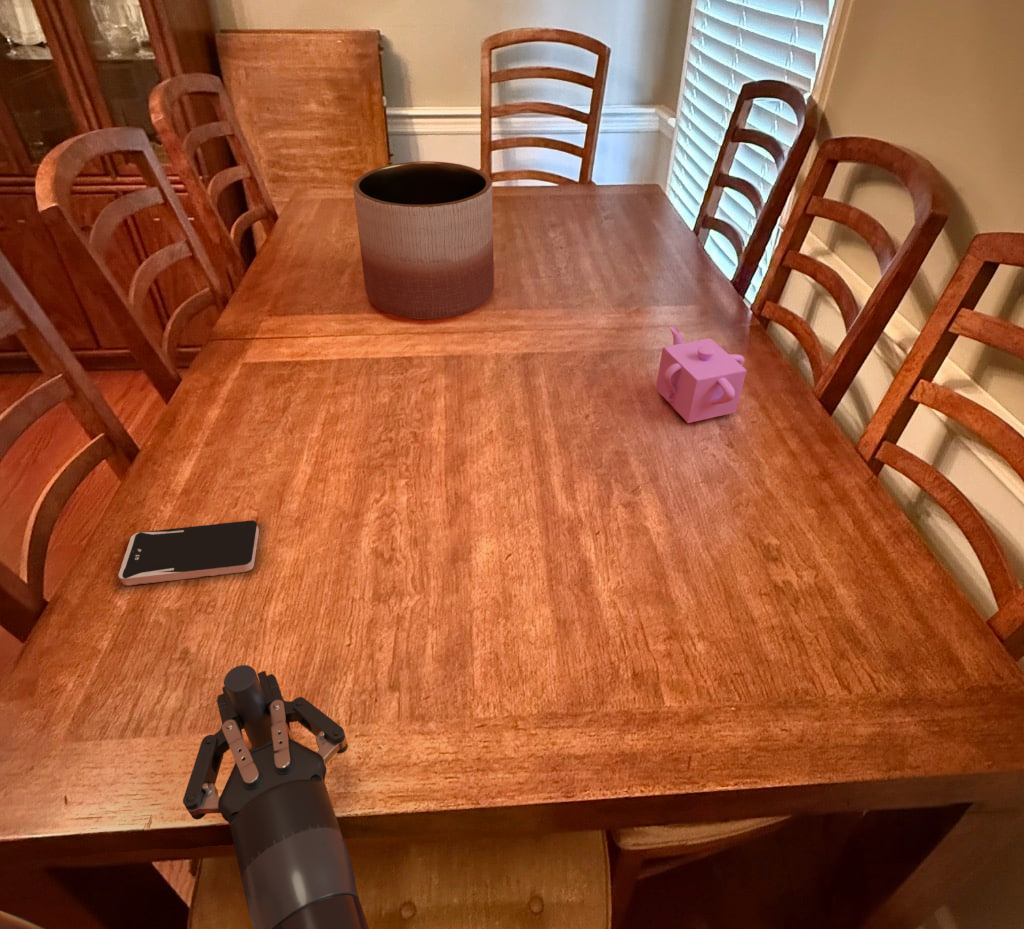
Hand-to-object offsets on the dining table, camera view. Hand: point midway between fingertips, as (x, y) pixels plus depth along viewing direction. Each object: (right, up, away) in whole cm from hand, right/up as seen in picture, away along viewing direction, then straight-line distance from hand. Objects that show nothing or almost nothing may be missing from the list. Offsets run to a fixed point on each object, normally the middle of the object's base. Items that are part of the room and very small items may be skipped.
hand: (245, 684), depth 64 cm
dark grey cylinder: (+1, -7, +3) cm, 8 cm away
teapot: (+54, +30, +48) cm, 78 cm away
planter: (+8, +54, +76) cm, 93 cm away
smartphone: (-15, +9, +21) cm, 27 cm away
